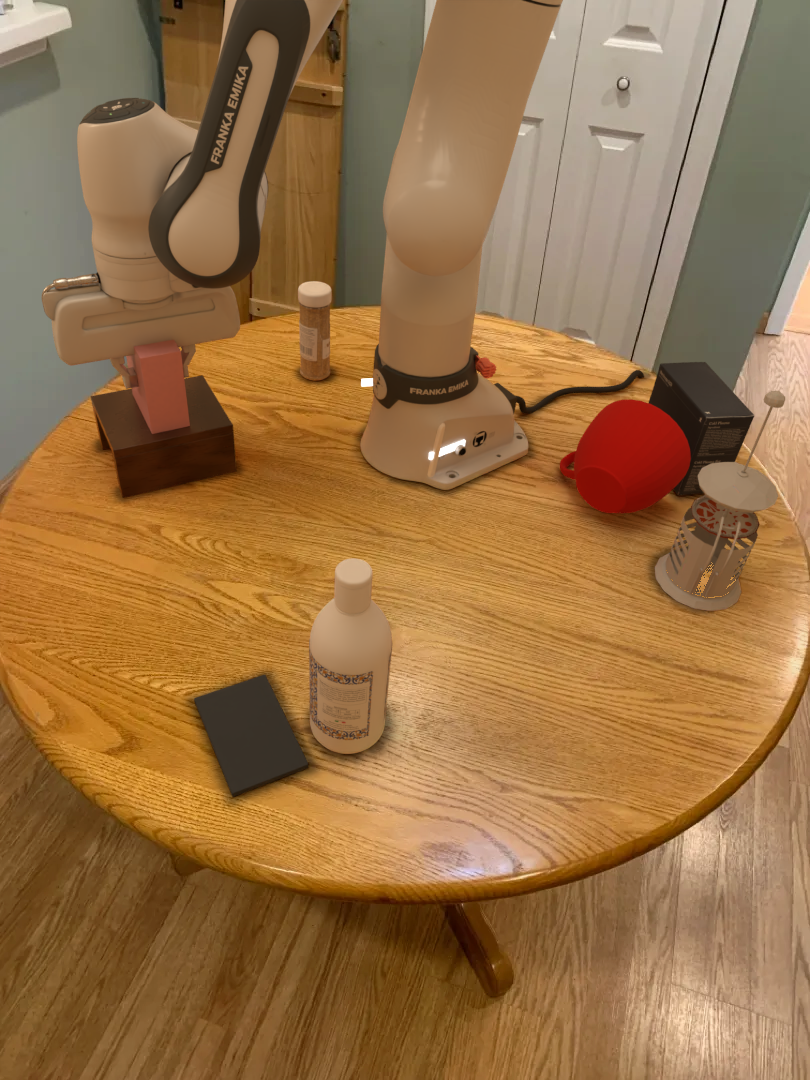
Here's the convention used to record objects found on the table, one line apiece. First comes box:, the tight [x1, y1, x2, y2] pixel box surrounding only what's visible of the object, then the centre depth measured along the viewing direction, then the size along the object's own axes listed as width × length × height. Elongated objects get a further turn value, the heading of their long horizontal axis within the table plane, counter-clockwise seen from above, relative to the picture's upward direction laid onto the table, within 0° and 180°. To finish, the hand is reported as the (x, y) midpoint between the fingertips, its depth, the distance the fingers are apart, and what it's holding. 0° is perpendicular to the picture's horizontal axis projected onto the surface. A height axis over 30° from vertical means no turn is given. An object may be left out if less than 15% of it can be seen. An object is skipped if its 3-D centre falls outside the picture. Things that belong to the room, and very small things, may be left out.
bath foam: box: [308, 557, 393, 755], centre depth 72 cm, size 7×7×20 cm
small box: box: [648, 361, 755, 496], centre depth 109 cm, size 13×7×12 cm, turn 12°
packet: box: [125, 340, 190, 434], centre depth 98 cm, size 4×9×10 cm, turn 27°
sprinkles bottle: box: [297, 280, 333, 381], centre depth 119 cm, size 5×5×13 cm
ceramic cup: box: [559, 398, 691, 515], centre depth 103 cm, size 13×17×10 cm
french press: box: [654, 390, 786, 612], centre depth 88 cm, size 10×12×25 cm
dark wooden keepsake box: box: [90, 374, 237, 499], centre depth 104 cm, size 14×12×7 cm
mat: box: [193, 674, 309, 798], centre depth 77 cm, size 7×11×1 cm, turn 27°
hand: (156, 380), depth 99 cm, fingers closed on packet, 4 cm apart
